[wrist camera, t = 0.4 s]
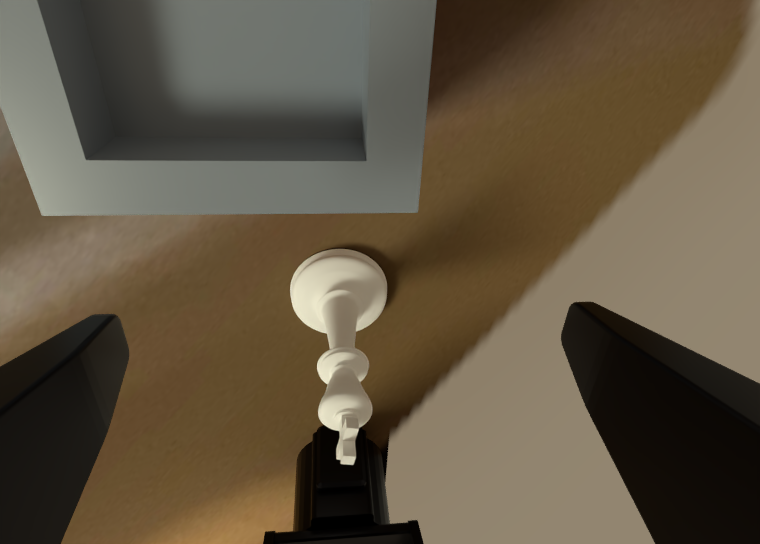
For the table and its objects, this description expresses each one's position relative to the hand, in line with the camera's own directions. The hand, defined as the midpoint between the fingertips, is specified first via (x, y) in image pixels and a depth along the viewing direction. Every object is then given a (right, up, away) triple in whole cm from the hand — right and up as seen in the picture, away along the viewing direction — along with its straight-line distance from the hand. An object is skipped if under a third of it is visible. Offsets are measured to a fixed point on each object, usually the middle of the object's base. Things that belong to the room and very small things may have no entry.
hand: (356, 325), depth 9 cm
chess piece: (-2, 0, +15) cm, 15 cm away
